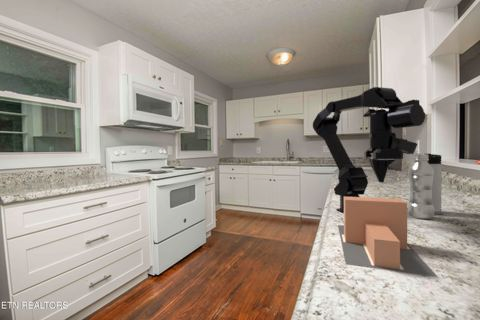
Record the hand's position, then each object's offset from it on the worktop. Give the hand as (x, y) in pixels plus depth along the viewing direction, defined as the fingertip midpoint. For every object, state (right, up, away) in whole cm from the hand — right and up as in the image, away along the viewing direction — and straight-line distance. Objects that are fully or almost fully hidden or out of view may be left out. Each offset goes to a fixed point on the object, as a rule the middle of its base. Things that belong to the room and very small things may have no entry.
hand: (381, 182), depth 67 cm
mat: (-12, -13, -16) cm, 24 cm away
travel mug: (+22, -11, +9) cm, 27 cm away
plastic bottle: (+14, -12, +3) cm, 19 cm away
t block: (-13, -13, -20) cm, 27 cm away
